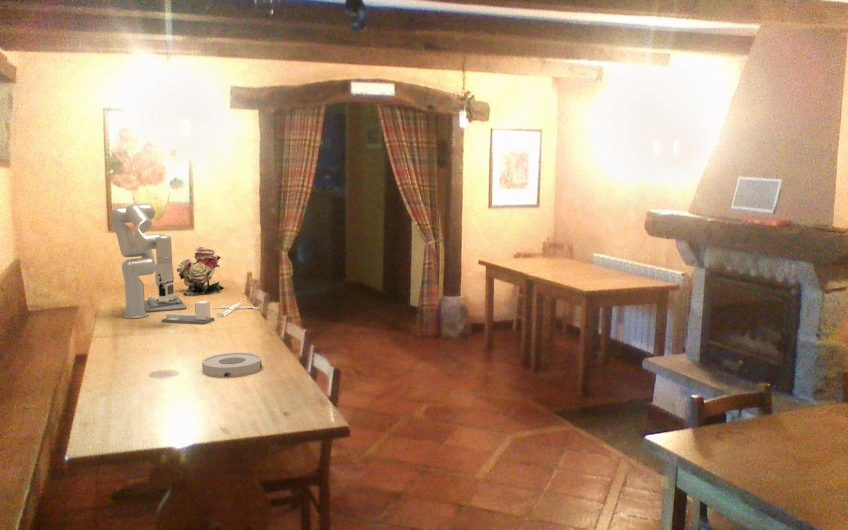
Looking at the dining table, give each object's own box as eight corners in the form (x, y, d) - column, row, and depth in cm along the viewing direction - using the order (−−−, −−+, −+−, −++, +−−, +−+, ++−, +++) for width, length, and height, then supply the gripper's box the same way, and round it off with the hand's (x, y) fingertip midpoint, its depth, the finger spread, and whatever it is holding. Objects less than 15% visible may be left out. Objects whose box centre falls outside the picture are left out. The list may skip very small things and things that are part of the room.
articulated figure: (196, 312, 392) (217, 300, 422) (196, 319, 393) (217, 306, 422) (244, 313, 389) (262, 300, 419) (245, 320, 390) (262, 307, 420)
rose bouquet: (178, 291, 476) (175, 245, 472) (223, 288, 485) (221, 244, 481) (177, 297, 452) (174, 250, 448) (225, 294, 461) (223, 248, 457)
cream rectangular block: (158, 301, 368) (157, 284, 367) (164, 299, 373) (164, 282, 372) (168, 301, 367) (167, 284, 365) (174, 299, 372) (173, 282, 371)
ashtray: (239, 358, 308) (238, 349, 307) (273, 368, 293) (273, 358, 292) (191, 370, 290) (190, 360, 289) (225, 381, 275) (224, 371, 275)
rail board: (161, 322, 379) (160, 302, 378) (172, 318, 389) (171, 298, 387) (204, 324, 374) (203, 304, 372) (214, 320, 383) (213, 300, 382)
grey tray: (187, 310, 414) (186, 298, 413) (147, 313, 405) (146, 301, 404) (180, 301, 441) (180, 290, 440) (143, 304, 432) (142, 292, 431)
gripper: (167, 257, 376) (168, 291, 379) (147, 262, 360) (149, 297, 362) (180, 258, 375) (181, 292, 377) (161, 262, 358) (162, 298, 361)
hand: (165, 294), depth 370 cm, fingers closed on cream rectangular block, 5 cm apart
